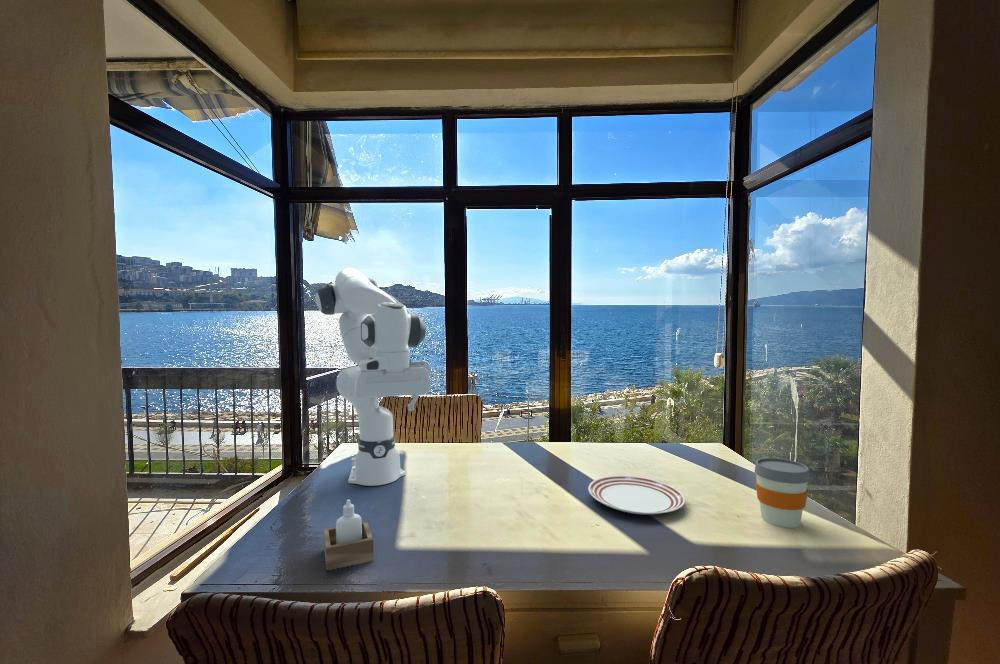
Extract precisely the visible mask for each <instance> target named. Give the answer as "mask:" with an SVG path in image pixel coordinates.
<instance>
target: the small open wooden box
mask: <svg viewBox="0 0 1000 664" xmlns="http://www.w3.org/2000/svg"><path fill="white" fill-rule="evenodd" d="M323 551H324V552H325V553H324V559H325V560H324V561H326V562H325V567H326V568H325V570H329V571H333V569H334V570H338V569H337V568H339V569H342V567H343V568H348V567H352V566H351V565H353V566H357V565H361V564H362V565H363V564H366V563H367V564H368V563H370V562H374V561H375V560H374V558H375V557H374V537H373V534H372V531H371V529H370V526H369V523H368V521H367V520H366V521H362V540H357V541H352V542H346V543H341V544H336V526H333V527H328V528H323ZM347 566H348V567H347Z"/></svg>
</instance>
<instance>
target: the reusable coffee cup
mask: <svg viewBox="0 0 1000 664" xmlns="http://www.w3.org/2000/svg"><path fill="white" fill-rule="evenodd" d="M754 473H755V475H756V476H755V477H756V480H755V489H756V496H757V497H756V498H757V500H758V501H759V508H760V517H761V519H762V520H763V522H764V521H765V522H766V523H768V524H770V525H773V526H776V527H782V528H787V529H788V528H791V529H793V528H798V527H799V526H800V525H801V521H802V518H803V517H802V516H803V510H804V509H805V508H806V504H807V500H808V493H809V489H808V482H809V481H810V470H809V467H808V466H807V465H806V464H803V463H801V462H799V461H794V460H790V459H785V458H779V457H762V458H759V459H758V458H757V459H756V461H755V466H754Z"/></svg>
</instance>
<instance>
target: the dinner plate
mask: <svg viewBox="0 0 1000 664" xmlns="http://www.w3.org/2000/svg"><path fill="white" fill-rule="evenodd" d="M587 489H588V493H589V495H591V497H592V498H594V500H596V501H598V502H599V503H601V504H603V505H604V506H606V507H609V508H611V509H614V510H618V511H620V512H622V513H626V512H627V514H631V515H632V514H633V515H646V516H647V515H660V514H661V515H662V514H665V513H666V514H667V513H671V512H675V511H677V510H680V509H681V508H682V507H683V506H685V503H686V498H685V495H684V494H683V493H682V492H681V491H680V490H678V489H677V488H676V487H674V486H672V485H670V484H667V483H665V482H663V481H660V480H657V479H653V478H647V477H644V476H636V475H621V474H620V475H607V476H602V477H599V478H597V479H594V480H592V481H591V482H590V483H589V485H588V487H587Z"/></svg>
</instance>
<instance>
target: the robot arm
mask: <svg viewBox="0 0 1000 664" xmlns="http://www.w3.org/2000/svg"><path fill="white" fill-rule="evenodd" d="M315 293H316V294H315V303H316V306H317V308H318V310H320V311H319V312H321V313H322V314H324V315H326V316H327V315H329V316H331V315H335V314H340V316H339V320H338V326H339V331H340V336H341V339H342V342H343V345H344V348H345V351H346V353H347V355H348V356H347V357H348V358H349V360H350V361H352V363H354V364H356V365H354V366H350V367H347V368H343V369H341V370H340V372H339V373H338V376H337V377H336V382H335V383H336V385H335V386H336V390H337V391H338V393H339V395H340V396H341V397H342V398H344V399H345V400H347V401H348V402H349V403H350V404H351V406H353V408H354V410H355V412H356V415H357V417H358V428H359V429H358V431H359V437H358V440H357V447H358V448H357V449H358V451H357V453H356V455H355V456H354V457H352V458H351V465H352V467H351V470H350V474H349V477H348V479H347V480H348V484H357V485H361V486H365V487H367V486H369V487H371V486H372V487H373V486H382V485H387V484H390V483H394V482H395V481H397V480H398V479H400V478H401V477H403V476H405V475H406V471H405V470H404V469H402V467H401V459H400V451H398V450H397V449H396V448H395V447H396V438H395V435H394V415H393V413H392V411H391V410H390V409H388V408H386V407H383V406H382V405H379V402H378V398H384V397H385V398H387V397H397V396H398V397H399V396H400V397H401V396H411V398H412V400H411V401H410V403H407V411H408V412H411V411H412V412H413V411H415V404H416V402H417V401H418V399H419V395H422V394H423V395H424V394H426V395H427V394H429V393H430V391H431V389H432V388H431V387H432V386H431V379H430V375H431V364H430V363H429V362H428V361H426V360H410V348H417V347H418V346H419V345H420V344H421V343H422V342H423V341H424V340H425V337H426V334H427V328H426V325H425V321H424V320H423V319H422V317H420V316H419V314H417V313H414V312H411V311H410V310H409V309H408V308H407V306H406V305H404V304H403V303H401V302H400V301H399V300H398V299H397V298H395V297H394V296H393V295H391V294H389V293H387V292H385V291H384V290H382V289H380V287H379V285H378V284H377V282H376V281H375V280H374V279H373V278H370V277H369V278H368V277H367V276H366V275H365V274H364V273H362V272H361V271H360V270H358V269H356V268H353V267H347V268H343V269H341V270H340V271H339V272H337V275H336V277H335V282H334V283H327V284H324V285H321V286H319V288H317V290H316V292H315Z"/></svg>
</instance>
